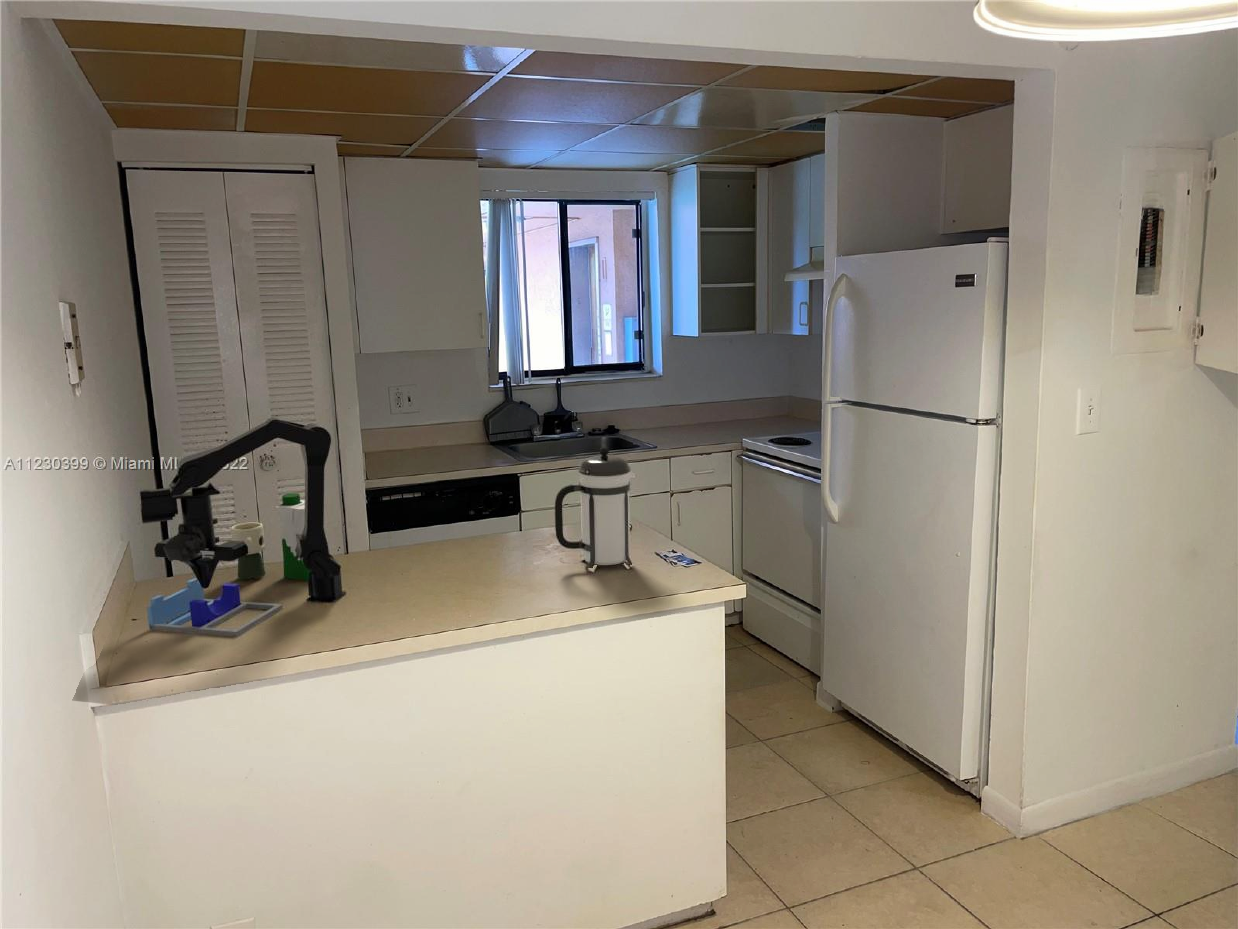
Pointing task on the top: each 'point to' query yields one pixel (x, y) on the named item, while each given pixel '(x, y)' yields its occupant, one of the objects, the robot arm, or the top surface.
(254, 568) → the character mug
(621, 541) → the coffee press
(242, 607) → the blue grey rack
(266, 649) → the top surface
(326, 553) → the robot arm
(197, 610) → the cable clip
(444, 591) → the top surface
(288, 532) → the milk carton
